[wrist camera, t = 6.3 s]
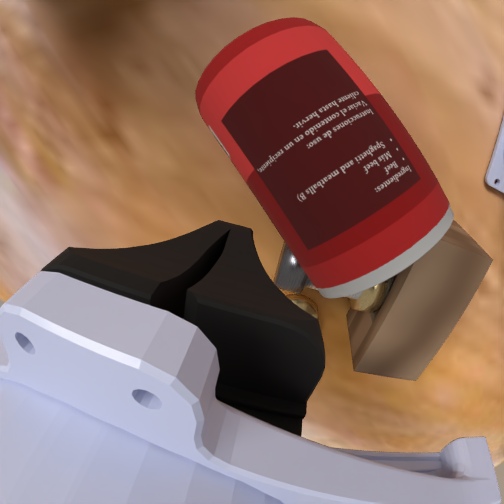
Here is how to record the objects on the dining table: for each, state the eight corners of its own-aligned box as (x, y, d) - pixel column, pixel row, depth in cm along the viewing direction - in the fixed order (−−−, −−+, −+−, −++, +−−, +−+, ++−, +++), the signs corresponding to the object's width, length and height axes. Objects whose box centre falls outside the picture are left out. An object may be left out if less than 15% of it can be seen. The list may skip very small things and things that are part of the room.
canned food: (270, 99, 19) (366, 239, 20) (167, 127, 15) (290, 313, 15) (345, 20, 13) (467, 192, 13) (236, 6, 9) (429, 275, 9)
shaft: (275, 269, 22) (270, 300, 19) (289, 221, 20) (287, 247, 17) (432, 310, 22) (446, 341, 18) (453, 271, 20) (472, 299, 17)
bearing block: (346, 315, 24) (353, 370, 19) (396, 198, 20) (426, 235, 14) (399, 327, 24) (415, 380, 19) (454, 220, 20) (492, 259, 14)
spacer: (323, 298, 24) (324, 307, 23) (309, 332, 26) (309, 342, 25) (278, 287, 24) (277, 296, 23) (267, 322, 26) (266, 331, 25)
